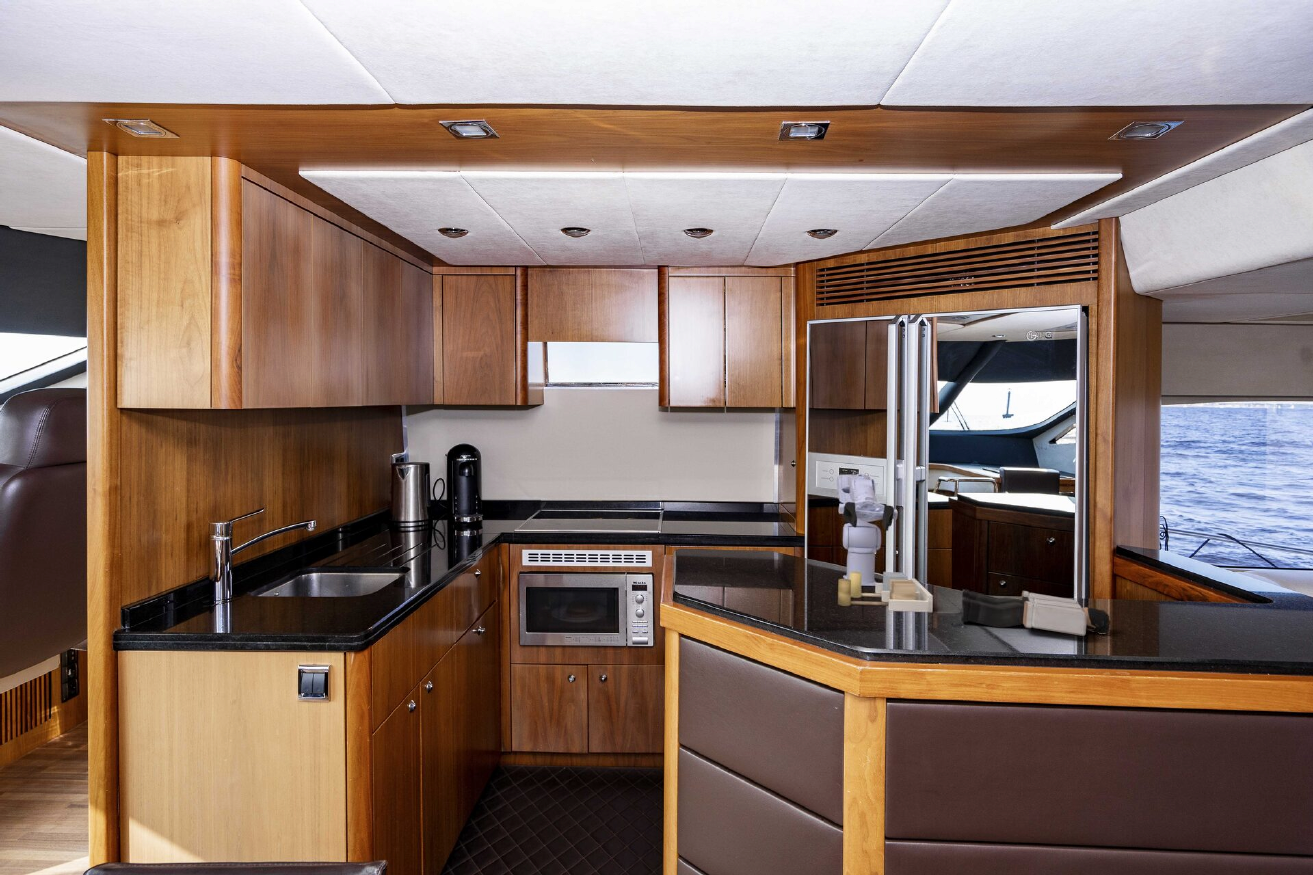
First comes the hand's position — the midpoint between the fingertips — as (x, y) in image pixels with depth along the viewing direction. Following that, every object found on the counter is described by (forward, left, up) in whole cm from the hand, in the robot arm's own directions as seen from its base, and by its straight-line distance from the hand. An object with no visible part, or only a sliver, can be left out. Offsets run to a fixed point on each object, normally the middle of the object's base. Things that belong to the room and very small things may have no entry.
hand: (871, 525), depth 181 cm
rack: (-2, +9, -20) cm, 21 cm away
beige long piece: (+2, +1, -20) cm, 20 cm away
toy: (+14, +34, -20) cm, 42 cm away
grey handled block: (-6, +3, -20) cm, 21 cm away
